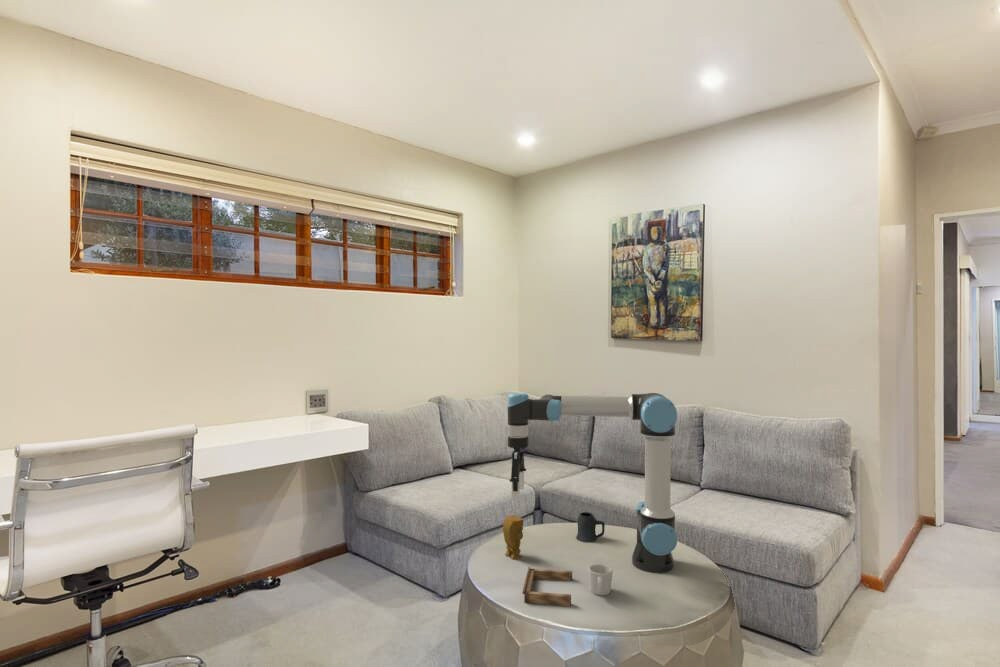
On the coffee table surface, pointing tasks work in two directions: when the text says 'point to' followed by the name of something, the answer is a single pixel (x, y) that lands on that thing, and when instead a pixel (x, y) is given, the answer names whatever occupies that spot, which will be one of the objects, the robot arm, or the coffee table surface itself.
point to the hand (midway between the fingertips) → (518, 494)
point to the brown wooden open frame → (546, 597)
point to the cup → (600, 579)
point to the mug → (588, 527)
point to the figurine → (513, 535)
